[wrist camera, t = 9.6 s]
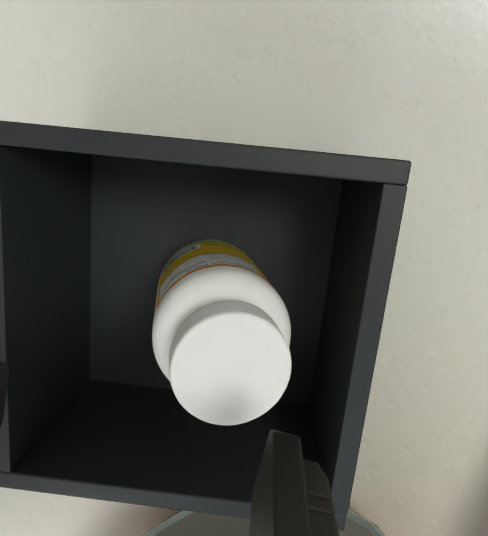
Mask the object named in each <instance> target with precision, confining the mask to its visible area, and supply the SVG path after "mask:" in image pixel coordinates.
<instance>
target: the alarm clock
mask: <svg viewBox="0 0 488 536" xmlns="http://www.w3.org/2000/svg"><path fill="white" fill-rule="evenodd" d="M249 529H250V519H247V518H239V517H231V516H224V515H216V514H208V513H200V512H192V511H184V510H182V511H180V512H179V513H177V514H175V515H174V516H172V517H170V518H168V519H167V520H165V521H163V522H162V523H160V524H158V525H157V526H155V527H153V528H151V529H150V530H148V531H147V532H146V533H145V534H144V536H249ZM338 533H339V536H385V535H384V534H383V532H382V531H381V530H380V529H379V527H378V526H377V525H375V524H374V523H372V522H370V521H368V520H367V519H365V518H363V517H361V516H360V515H358V514H356V513H354V512H352V511H351V510H349V509H348V513H347V517H346V523H345V528H344V530H343V531H341V530H338Z"/></svg>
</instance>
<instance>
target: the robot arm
mask: <svg viewBox="0 0 488 536" xmlns="http://www.w3.org/2000/svg"><path fill="white" fill-rule="evenodd" d="M8 376H9V367H8V364H7V363H5V362H1V361H0V427H1V425H2V422H3V418H4V410H5V402H6V393H7V385H8ZM334 514H335V511H334V506H333V501H332V495H331V490H330V485H329V480H328V478H327V476H326V475H325V473H324V472H323V470H322V469H321V467H320V466H319V464H318V463H317V462H313V461H309V460H305V459H303V453H302V445H301V438H300V436H297V435H292V434H288V433H284V432H280V431H276V430H271V431H270V433H269V436H268V439H267V442H266V446H265V449H264V453H263V456H262V460H261V463H260V466H259V470H258V473H257V477H256V480H255V484H254V489H253V494H252V501H251V511H250V529H249V536H339V533H338V527H337V522H336V517H335V516H334Z"/></svg>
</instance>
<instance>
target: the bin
mask: <svg viewBox="0 0 488 536" xmlns="http://www.w3.org/2000/svg"><path fill="white" fill-rule="evenodd" d="M410 168H411V161H407V160H397V159H387V158H377V157H367V156H356V155H346V154H336V153H326V152H316V151H305V150H295V149H285V148H275V147H264V146H254V145H244V144H234V143H224V142H213V141H203V140H193V139H183V138H173V137H162V136H152V135H142V134H132V133H122V132H111V131H101V130H91V129H81V128H71V127H60V126H50V125H40V124H30V123H20V122H9V121H0V361H1V362H5V363H7V364H8V367H9V376H8V385H7V393H6V402H5V410H4V418H3V422H2V425H1V427H0V487H4V488H12V489H20V490H27V491H35V492H43V493H51V494H59V495H67V496H74V497H82V498H90V499H98V500H106V501H114V502H122V503H129V504H137V505H145V506H153V507H161V508H169V509H176V510H184V511H192V512H200V513H208V514H216V515H224V516H231V517H239V518H247V519H250V511H251V501H252V494H253V489H254V484H255V480H256V477H257V473H258V470H259V466H260V463H261V460H262V456H263V453H264V449H265V446H266V442H267V439H268V436H269V433H270V431H271V430H276V431H280V432H284V433H288V434H292V435H297V436H300V438H301V445H302V453H303V459H305V460H309V461H313V462H317V463H318V464H319V466H320V467H321V469H322V470H323V472H324V473H325V475H326V476H327V478H328V480H329V485H330V490H331V495H332V501H333V506H334V511H335V514H334V516H335V517H336V522H337V527H338V530H341V531H343V530H344V528H345V523H346V517H347V513H348V508H349V502H350V497H351V491H352V486H353V481H354V475H355V470H356V464H357V459H358V453H359V448H360V442H361V437H362V431H363V426H364V421H365V415H366V410H367V404H368V399H369V393H370V388H371V382H372V377H373V371H374V366H375V361H376V355H377V350H378V344H379V339H380V333H381V328H382V322H383V317H384V311H385V306H386V300H387V295H388V290H389V284H390V279H391V273H392V268H393V262H394V257H395V251H396V246H397V240H398V235H399V230H400V224H401V219H402V213H403V208H404V202H405V197H406V191H407V186H405V185H407V183H408V179H409V173H410ZM202 240H219V241H223V242H226V243H229V244H231V245H234V246H236V247H237V248H239V249H240V250H242V251H243V252H244V253H245V254H246V255H247V256H248V257H249V258H250V259H251V260H252V261H253V263H254V264H255V265H256V266H257V268H258V269H259V270H260V271H261V272H262V274H263V275H264V276H265V277H266V279H267V280H268V281H269V283H270V284H271V285H272V286H273V288H274V289H275V290H276V291H277V293H278V294H279V296H280V297H281V299H282V300H283V302H284V304H285V306H286V309H287V311H288V314H289V319H290V324H291V338H290V345H289V350H290V354H291V362H292V363H291V374H290V379H289V382H288V385H287V387H286V389H285V391H284V393H283V394H282V396H281V398H280V399H279V400H278V402H277V403H276V404H275V405H274V406H273V407H272V408H271V409H269V410H268V411H267V412H266V413H264V414H263V415H261V416H259V417H258V418H256V419H254V420H251V421H248V422H246V423H242V424H238V425H216V424H212V423H208V422H205V421H202V420H200V419H198V418H196V417H195V416H193V415H191V414H190V413H189V412H188V411H187V410H186V409H184V408H183V406H182V405H181V404H180V403H179V401H178V400H177V398H176V396H175V394H174V392H173V389H172V386H171V382H170V381H169V380H168V379H167V377H166V376H165V375H164V373H163V372H162V370H161V369H160V367H159V365H158V363H157V360H156V358H155V354H154V350H153V343H152V329H153V320H154V312H155V304H156V296H157V288H158V282H159V278H160V275H161V272H162V270H163V268H164V266H165V264H166V263H167V261H168V260H169V259H170V258H171V256H172V255H173V254H174V253H176V252H177V251H178V250H179V249H181V248H182V247H184V246H186V245H188V244H191V243H193V242H197V241H202Z"/></svg>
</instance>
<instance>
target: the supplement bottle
mask: <svg viewBox="0 0 488 536" xmlns="http://www.w3.org/2000/svg"><path fill="white" fill-rule="evenodd" d="M290 338H291V324H290V319H289V314H288V311H287V309H286V306H285V304H284V302H283V300H282V299H281V297H280V296H279V294H278V293H277V291H276V290H275V289H274V288H273V286H272V285H271V284H270V283H269V281H268V280H267V279H266V277H265V276H264V275H263V274H262V272H261V271H260V270H259V269H258V268H257V266H256V265H255V264H254V263H253V261H252V260H251V259H250V258H249V257H248V256H247V255H246V254H245V253H244V252H243V251H242V250H240V249H239V248H237V247H236V246H234V245H231V244H229V243H226V242H223V241H219V240H202V241H197V242H193V243H191V244H188V245H186V246H184V247H182V248H181V249H179V250H178V251H177V252H176V253H174V254H173V255H172V256H171V258H170V259H169V260H168V261H167V263H166V264H165V266H164V268H163V270H162V272H161V275H160V278H159V282H158V288H157V296H156V304H155V312H154V320H153V329H152V343H153V350H154V354H155V358H156V360H157V363H158V365H159V367H160V369H161V370H162V372H163V373H164V375H165V376H166V377H167V379H168V380H169V381H170V382H171V386H172V389H173V392H174V394H175V396H176V398H177V400H178V401H179V403H180V404H181V405H182V406H183V408H184V409H186V410H187V411H188V412H189V413H190V414H191V415H193V416H195V417H196V418H198V419H200V420H202V421H205V422H208V423H212V424H216V425H238V424H242V423H246V422H248V421H251V420H254V419H256V418H258V417H259V416H261V415H263V414H264V413H266V412H267V411H268V410H269V409H271V408H272V407H273V406H274V405H275V404H276V403H277V402H278V400H279V399H280V398H281V396H282V394H283V393H284V391H285V389H286V387H287V385H288V382H289V379H290V374H291V363H292V362H291V354H290V350H289V345H290Z"/></svg>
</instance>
